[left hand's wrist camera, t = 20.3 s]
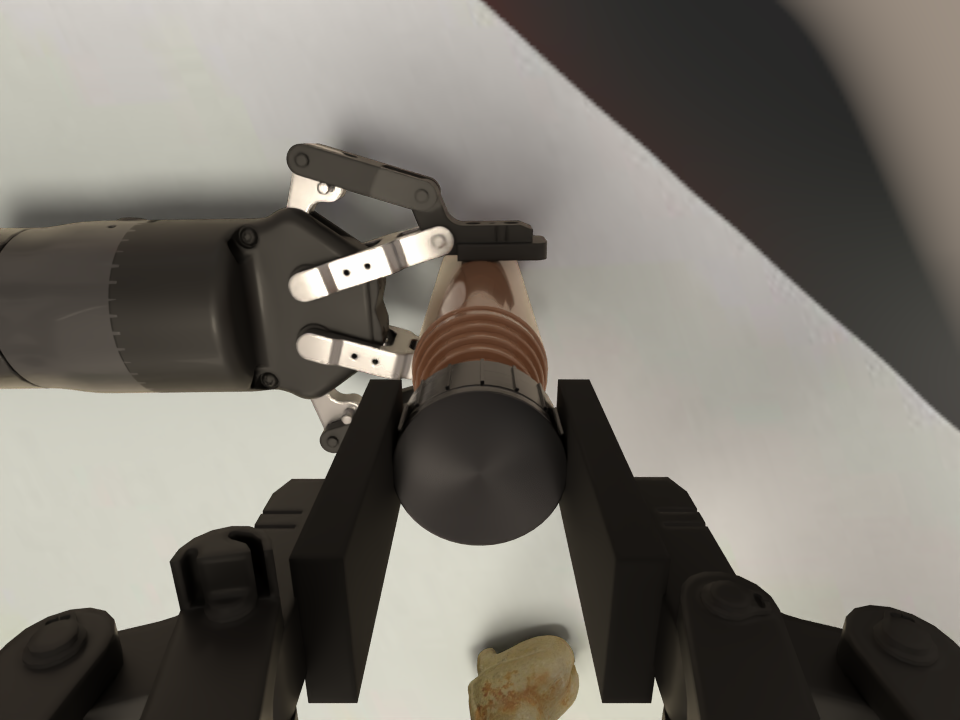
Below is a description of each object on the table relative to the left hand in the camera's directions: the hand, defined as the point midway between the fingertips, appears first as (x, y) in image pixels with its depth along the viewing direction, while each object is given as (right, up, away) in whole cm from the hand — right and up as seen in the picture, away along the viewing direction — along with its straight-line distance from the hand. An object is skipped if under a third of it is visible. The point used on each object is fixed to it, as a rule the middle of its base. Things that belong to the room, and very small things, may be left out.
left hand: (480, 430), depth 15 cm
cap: (0, -1, -2) cm, 2 cm away
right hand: (+3, +4, +11) cm, 12 cm away
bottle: (0, +6, +17) cm, 18 cm away
